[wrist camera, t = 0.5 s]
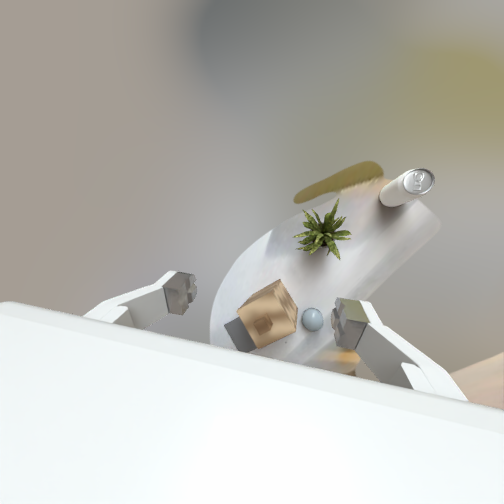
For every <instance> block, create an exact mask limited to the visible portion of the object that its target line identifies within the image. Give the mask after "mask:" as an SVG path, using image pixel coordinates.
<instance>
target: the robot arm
mask: <svg viewBox="0 0 504 504" xmlns="http://www.w3.org/2000/svg"><path fill="white" fill-rule="evenodd" d="M195 281H196V278H195V275H193V274H188V273H182V272H177V271H169V272H168V273H166V274H165V275H164V276H163V277H162V278H161V279H159V280H158V281H157V282H156V283H155V284H153V285H149V286H146V287H143V288H140V289H138V290H135V291H132V292H129V293H126V294H123V295H120V296H117V297H114V298H112V299H109V300H106V301H103V302H102V303H100V304H99V305H98V306H96V307H95V308H93V309H92V310H91V311H89V312H88V313H87V314H85V315H84V316H77V315H73V314H68V313H63V312H59V311H55V310H50V309H46V308H41V307H36V306H32V305H28V304H24V303H19V302H2V303H0V504H504V410H503V409H498V408H494V407H489V406H485V405H480V404H476V403H471V402H469V401H468V400H467V398H466V397H465V396H464V394H463V393H462V392H461V390H460V389H459V388H458V386H457V385H456V384H455V382H454V381H453V380H452V378H451V377H450V376H449V374H448V373H447V372H446V371H445V370H444V369H443V368H442V367H440V366H439V365H438V364H436V363H435V362H434V361H432V360H431V359H430V358H428V357H427V356H426V355H424V354H423V353H422V352H420V351H419V350H418V349H416V348H415V347H414V346H412V345H411V344H410V343H408V342H407V341H406V340H404V339H403V338H402V337H400V336H399V335H398V334H396V333H395V332H394V331H392V330H391V329H390V328H388V327H387V326H383V324H382V322H381V321H380V319H379V317H378V315H377V314H376V312H375V310H374V308H373V307H372V305H371V303H370V302H368V301H361V300H351V299H345V298H338V297H337V299H336V301H335V306H336V308H334V309H333V310H332V314H331V324H332V328H333V329H334V330H335V333H334V337H335V341H336V345H337V346H339V347H344V348H348V349H353V350H355V352H356V353H357V354H358V355H359V356H360V358H361V359H362V360H363V361H364V362H365V364H366V365H367V366H368V367H369V368H370V370H371V371H372V372H373V373H374V375H375V376H376V377H377V378H378V379H379V381H380V382H376V381H372V380H367V379H362V378H358V377H354V376H349V375H345V374H340V373H335V372H331V371H326V370H322V369H317V368H313V367H308V366H304V365H299V364H295V363H290V362H286V361H281V360H277V359H272V358H268V357H263V356H259V355H254V354H250V353H245V352H241V351H236V350H232V349H227V348H222V347H218V346H213V345H209V344H204V343H199V342H195V341H190V340H186V339H181V338H177V337H172V336H168V335H163V334H159V333H154V332H150V331H145V330H143V329H145V328H146V327H148V326H150V325H151V324H153V323H155V322H156V321H158V320H159V319H161V318H163V317H164V316H166V315H168V314H169V313H172V314H178V315H183V314H184V313H185V311H186V310H187V309H188V307H189V306H188V304H189V303H191V302H193V300H194V299H195V297H196V294H197V287H196V285H195V284H194V282H195Z"/></svg>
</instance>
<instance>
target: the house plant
mask: <svg viewBox="0 0 504 504" xmlns="http://www.w3.org/2000/svg"><path fill="white" fill-rule="evenodd" d="M338 203H339V198H338V200H337V202H336V204H335V206H334V208H333V210H332V212H331V213H327V214H326V215H325V218H324V222H321V221H320V219H319V216H318V214H317V213H316V212H315V211H314V210H312V211H313V213H314V214H315V216H316V218H317V220H318V222H319V223H317V222H316V221H315V219H314V218H313V217H312V216H311V215H309V214H308V213H307V212H306V211H304V210H303V211H304V213H305V214H306V215H305V216H306V218H307V220H308V221H309V222H303V225H304V226H305V227H306V228H309V229H311V230H310V231H306V232H303V233H301V234H299V235H296V236H294V237H303V236H309V237H306V238H305V239H304V240H303V241H299V242H298V243H300V244H304V245H305V244H308V243H310V242H312V243H311V244H309V245H307V246H306V247H302V248H298V249H303V250H304V251H309V250H311V251H310V253H309V255H311V254H312V253H313V252H315V251H316V250H317V249H318V248H325V247H329V251H328V254H329V252H330V251H331V252H333V254H334V255H336V257H337V258H338V259H339V260H340V255H339V251H338V249H337V247H336V244H335V242H334V241H335V239H336V240H349V239H350V238H345V237H339V236H347V235H352V234H351V233H350V232H349V231H347V230H342V231H337V232H336V229H337V228H339V227H340V226H341V225H342V223H343V222H344V220H345V218H346V217H344V218H343V219H342V216H341V217H340V219H339V218H337V219H336V220H334V215H335V213H336V211H337V206H338ZM338 219H339V220H338ZM341 219H342V220H341ZM337 220H338V221H337ZM336 221H337V222H336ZM335 222H336V223H335ZM334 223H335V224H334ZM333 224H334V225H333ZM332 225H333V226H332ZM295 250H296V249H295ZM328 254H327V255H328Z"/></svg>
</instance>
